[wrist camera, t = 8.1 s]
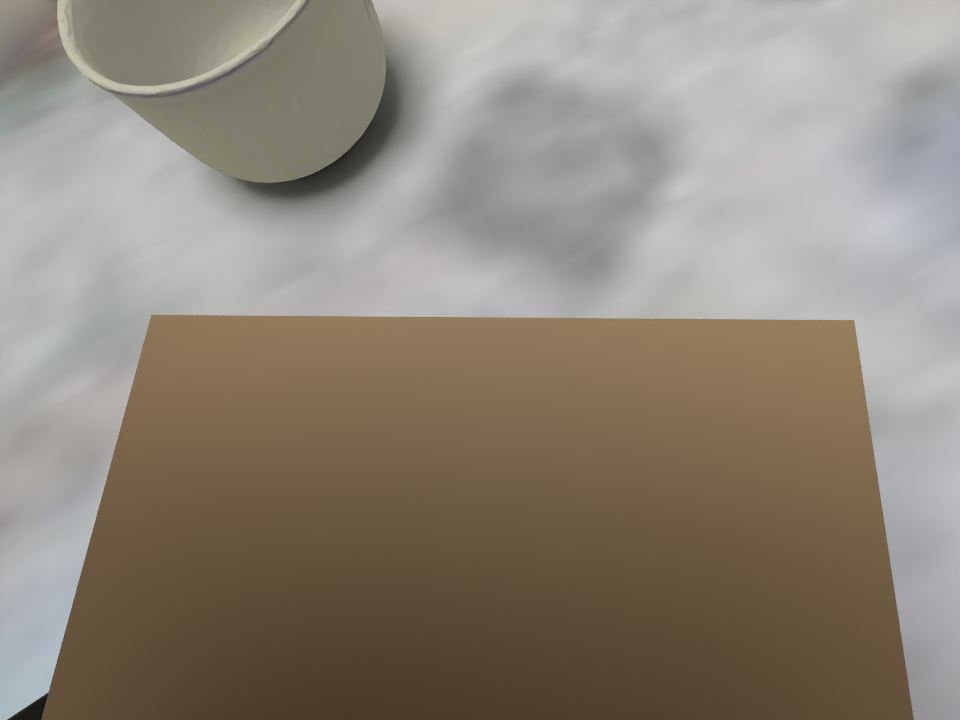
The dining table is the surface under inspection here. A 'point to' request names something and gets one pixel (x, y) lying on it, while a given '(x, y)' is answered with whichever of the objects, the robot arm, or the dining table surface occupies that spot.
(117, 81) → the teacup
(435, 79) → the dining table surface
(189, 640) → the walnut block
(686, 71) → the dining table surface
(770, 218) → the dining table surface
